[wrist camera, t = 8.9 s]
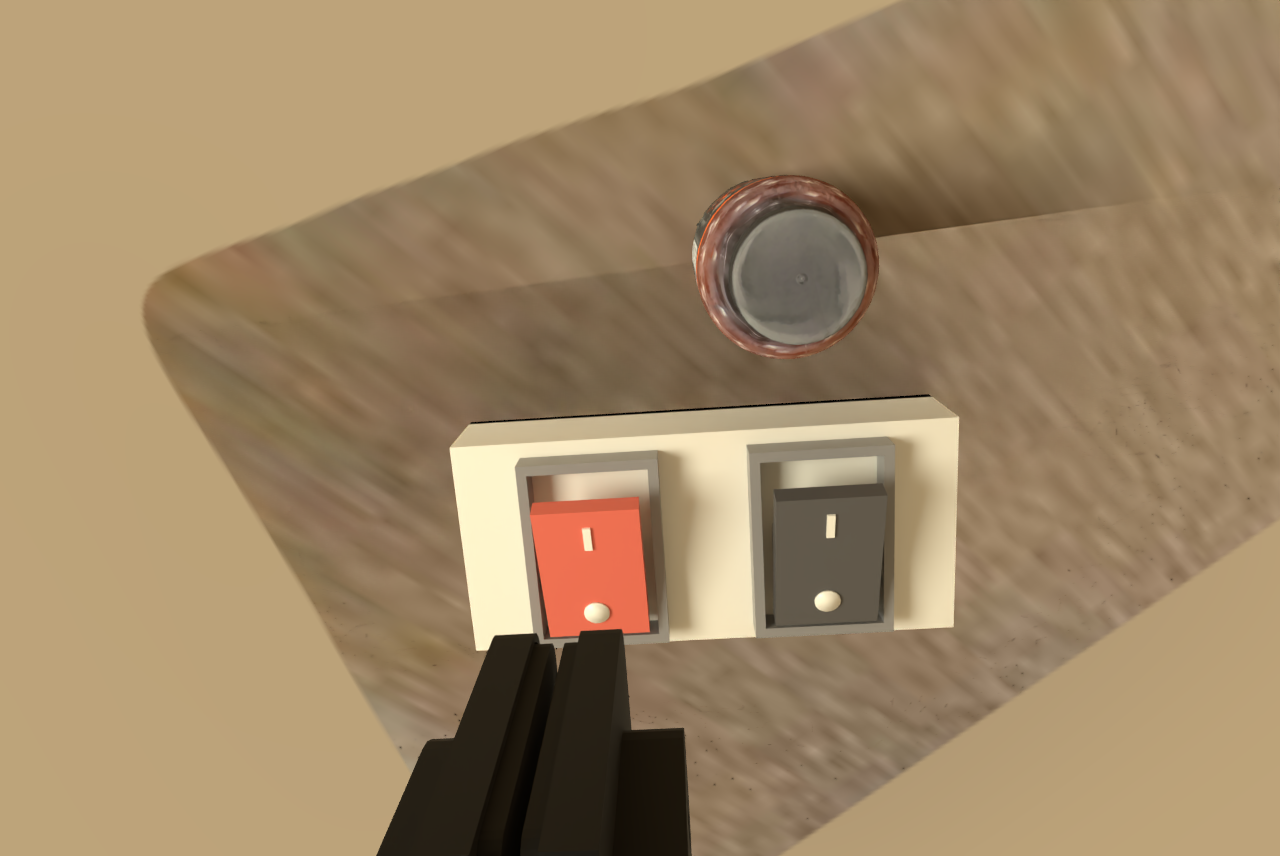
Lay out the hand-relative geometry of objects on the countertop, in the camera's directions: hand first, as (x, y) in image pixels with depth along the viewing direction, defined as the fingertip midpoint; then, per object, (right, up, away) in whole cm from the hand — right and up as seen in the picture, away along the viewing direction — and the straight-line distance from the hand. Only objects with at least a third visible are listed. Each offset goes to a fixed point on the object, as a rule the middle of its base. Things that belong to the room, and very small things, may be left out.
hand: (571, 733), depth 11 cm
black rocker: (+8, -1, +23) cm, 24 cm away
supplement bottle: (+6, +11, +25) cm, 28 cm away
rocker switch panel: (+4, +1, +28) cm, 28 cm away
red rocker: (-1, -1, +23) cm, 23 cm away
